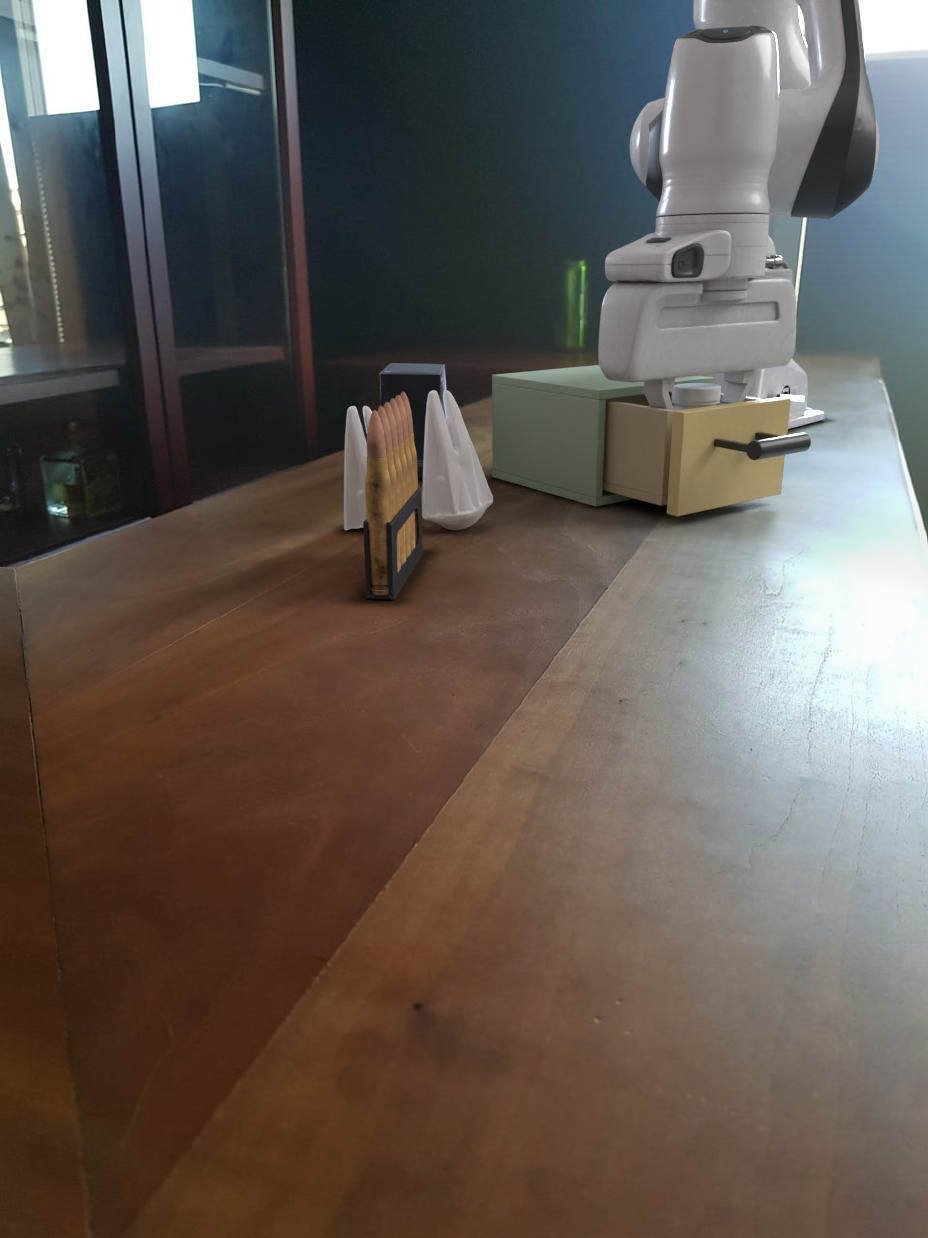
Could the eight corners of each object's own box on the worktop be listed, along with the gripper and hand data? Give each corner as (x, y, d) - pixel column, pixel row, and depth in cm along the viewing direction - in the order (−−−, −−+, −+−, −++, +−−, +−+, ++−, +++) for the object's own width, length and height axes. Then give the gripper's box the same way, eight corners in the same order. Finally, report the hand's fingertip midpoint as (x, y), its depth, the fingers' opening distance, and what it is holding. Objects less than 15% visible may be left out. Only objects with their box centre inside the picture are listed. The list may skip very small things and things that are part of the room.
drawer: (829, 504, 79) (842, 404, 76) (724, 529, 73) (734, 420, 70) (661, 467, 94) (666, 382, 91) (561, 485, 88) (564, 394, 85)
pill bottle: (718, 478, 84) (726, 382, 81) (717, 490, 80) (725, 389, 77) (664, 476, 85) (669, 381, 83) (659, 488, 81) (665, 388, 78)
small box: (445, 479, 95) (442, 371, 91) (380, 480, 95) (375, 372, 91) (449, 458, 105) (447, 361, 101) (390, 459, 105) (386, 362, 101)
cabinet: (706, 485, 91) (714, 377, 87) (595, 506, 84) (599, 390, 80) (597, 460, 103) (600, 364, 99) (492, 477, 96) (491, 374, 92)
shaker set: (494, 522, 79) (494, 386, 75) (487, 535, 75) (486, 393, 71) (355, 518, 81) (348, 385, 77) (341, 531, 77) (333, 392, 73)
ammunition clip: (399, 552, 71) (393, 389, 67) (423, 552, 71) (418, 389, 67) (365, 599, 61) (355, 412, 57) (393, 600, 61) (385, 412, 57)
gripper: (763, 254, 84) (748, 412, 89) (588, 257, 73) (583, 435, 78) (823, 253, 79) (805, 420, 84) (646, 256, 69) (636, 446, 73)
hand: (696, 428), depth 81 cm, fingers open, 6 cm apart
